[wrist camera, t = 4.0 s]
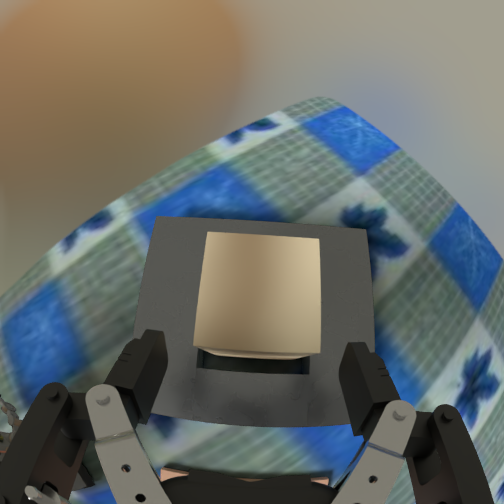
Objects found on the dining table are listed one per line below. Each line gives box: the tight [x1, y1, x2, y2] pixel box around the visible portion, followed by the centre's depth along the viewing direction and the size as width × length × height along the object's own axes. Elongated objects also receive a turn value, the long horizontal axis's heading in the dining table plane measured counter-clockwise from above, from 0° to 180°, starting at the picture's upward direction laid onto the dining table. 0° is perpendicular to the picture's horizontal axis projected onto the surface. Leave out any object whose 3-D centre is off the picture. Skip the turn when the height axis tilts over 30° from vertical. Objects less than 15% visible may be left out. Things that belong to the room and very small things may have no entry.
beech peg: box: [193, 232, 321, 360], centre depth 15 cm, size 5×5×9 cm
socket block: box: [132, 216, 375, 427], centre depth 18 cm, size 16×14×2 cm
